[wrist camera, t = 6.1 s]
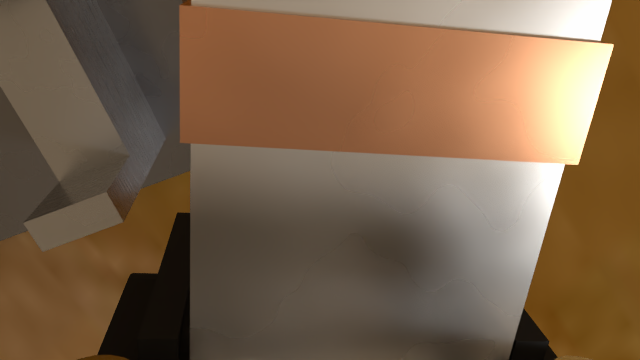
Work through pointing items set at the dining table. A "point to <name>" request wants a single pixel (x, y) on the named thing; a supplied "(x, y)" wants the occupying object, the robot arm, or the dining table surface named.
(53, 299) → the dining table surface
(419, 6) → the white and orange bar
